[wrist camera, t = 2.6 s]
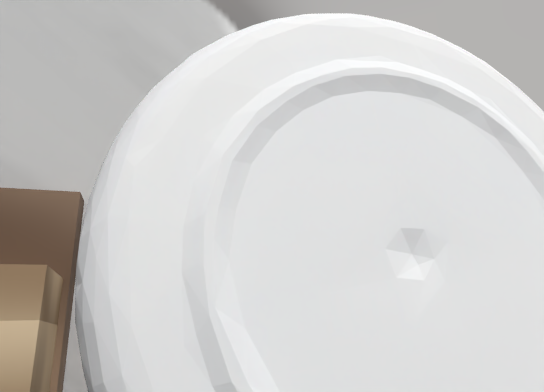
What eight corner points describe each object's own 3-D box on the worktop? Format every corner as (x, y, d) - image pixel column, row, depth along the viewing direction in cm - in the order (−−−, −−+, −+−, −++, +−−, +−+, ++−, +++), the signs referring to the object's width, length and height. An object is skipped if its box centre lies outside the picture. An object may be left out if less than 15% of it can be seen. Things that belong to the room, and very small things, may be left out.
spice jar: (284, 309, 16) (709, 190, 4) (217, 428, 14) (635, 888, 2) (182, 241, 16) (303, -102, 4) (101, 353, 14) (-174, 389, 2)
